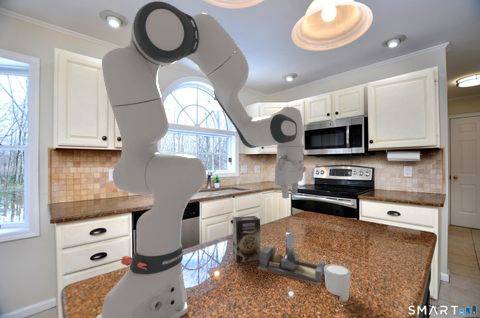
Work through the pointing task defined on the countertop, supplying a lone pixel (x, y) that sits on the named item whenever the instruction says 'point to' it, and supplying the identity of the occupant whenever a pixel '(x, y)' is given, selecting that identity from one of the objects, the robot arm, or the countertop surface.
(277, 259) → the walnut
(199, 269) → the countertop surface
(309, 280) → the grey holder tray
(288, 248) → the ram
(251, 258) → the coffee box
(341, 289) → the shot glass
